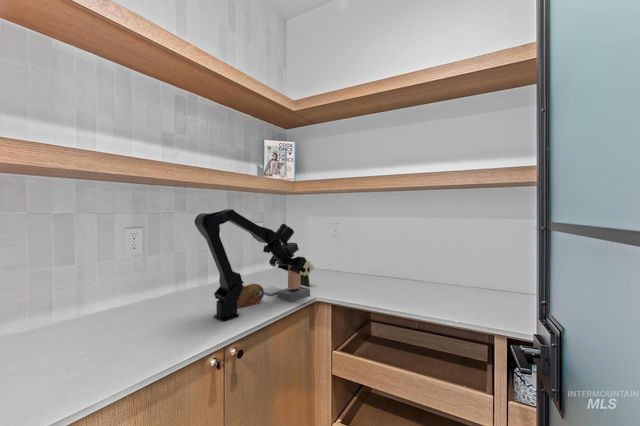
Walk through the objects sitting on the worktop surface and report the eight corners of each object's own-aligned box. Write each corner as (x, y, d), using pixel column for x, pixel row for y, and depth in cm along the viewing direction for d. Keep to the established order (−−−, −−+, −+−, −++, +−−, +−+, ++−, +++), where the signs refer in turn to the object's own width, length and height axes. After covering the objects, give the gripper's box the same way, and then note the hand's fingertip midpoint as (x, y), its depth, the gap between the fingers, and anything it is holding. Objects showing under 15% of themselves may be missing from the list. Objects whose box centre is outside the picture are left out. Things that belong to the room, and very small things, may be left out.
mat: (270, 296, 125) (270, 293, 125) (258, 292, 131) (258, 290, 131) (285, 291, 132) (285, 289, 132) (272, 288, 138) (272, 286, 138)
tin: (229, 310, 107) (229, 289, 107) (226, 308, 109) (226, 287, 109) (264, 302, 116) (264, 282, 116) (260, 300, 119) (260, 281, 119)
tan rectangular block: (293, 289, 122) (293, 261, 122) (287, 287, 124) (288, 260, 124) (300, 287, 125) (300, 260, 125) (294, 285, 127) (295, 259, 127)
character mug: (296, 289, 136) (296, 263, 135) (291, 286, 142) (291, 261, 142) (316, 287, 141) (316, 261, 141) (309, 283, 147) (310, 259, 147)
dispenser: (291, 302, 117) (291, 292, 117) (277, 297, 123) (277, 288, 123) (310, 295, 126) (310, 286, 126) (296, 291, 132) (296, 283, 132)
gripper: (303, 238, 115) (320, 261, 124) (274, 235, 127) (291, 256, 136) (290, 259, 109) (308, 281, 118) (260, 254, 121) (279, 275, 130)
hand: (296, 272), depth 126 cm, fingers closed on tan rectangular block, 3 cm apart
